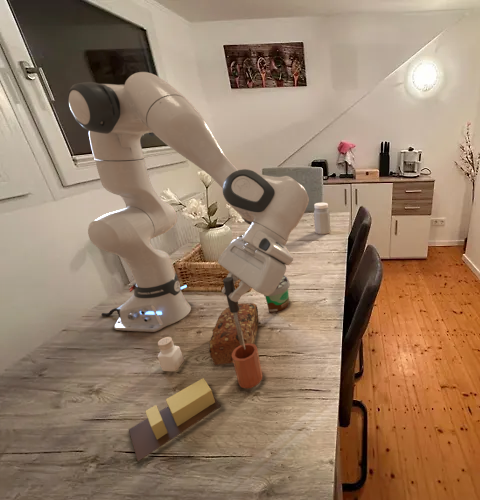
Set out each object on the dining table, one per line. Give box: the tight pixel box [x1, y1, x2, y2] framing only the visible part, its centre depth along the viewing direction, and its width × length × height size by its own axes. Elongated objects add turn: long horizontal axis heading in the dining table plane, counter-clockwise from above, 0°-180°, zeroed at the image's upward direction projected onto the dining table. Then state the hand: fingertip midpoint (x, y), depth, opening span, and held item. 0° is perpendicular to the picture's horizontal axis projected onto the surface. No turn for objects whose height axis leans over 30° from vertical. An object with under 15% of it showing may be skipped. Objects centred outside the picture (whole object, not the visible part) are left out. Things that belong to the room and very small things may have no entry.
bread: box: [208, 302, 260, 366], centre depth 83 cm, size 19×11×10 cm, turn 9°
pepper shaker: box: [157, 336, 185, 372], centre depth 74 cm, size 4×4×10 cm
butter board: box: [128, 394, 222, 462], centre depth 62 cm, size 16×9×1 cm, turn 135°
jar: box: [313, 202, 331, 235], centre depth 171 cm, size 10×10×18 cm
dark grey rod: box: [222, 276, 246, 349], centre depth 63 cm, size 2×2×18 cm
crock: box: [232, 343, 263, 389], centre depth 70 cm, size 6×6×10 cm
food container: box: [263, 275, 291, 314], centre depth 100 cm, size 12×6×10 cm, turn 168°
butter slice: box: [144, 404, 168, 439], centre depth 59 cm, size 2×5×4 cm, turn 46°
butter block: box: [165, 377, 215, 426], centre depth 63 cm, size 8×5×4 cm, turn 135°
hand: (228, 297), depth 61 cm, fingers closed on dark grey rod, 2 cm apart
